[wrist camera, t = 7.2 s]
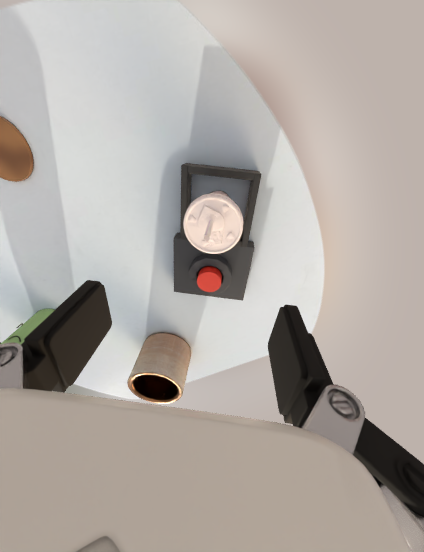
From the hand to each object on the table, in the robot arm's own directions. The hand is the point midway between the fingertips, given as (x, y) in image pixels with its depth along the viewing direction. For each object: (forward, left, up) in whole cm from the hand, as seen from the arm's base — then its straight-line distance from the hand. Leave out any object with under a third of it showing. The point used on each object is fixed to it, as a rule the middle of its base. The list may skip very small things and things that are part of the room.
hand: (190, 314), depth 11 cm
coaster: (-4, -30, -23) cm, 38 cm away
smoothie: (0, 0, -23) cm, 23 cm away
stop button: (+10, 0, -19) cm, 21 cm away
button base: (+10, 0, -23) cm, 25 cm away
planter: (+33, -8, -23) cm, 41 cm away
